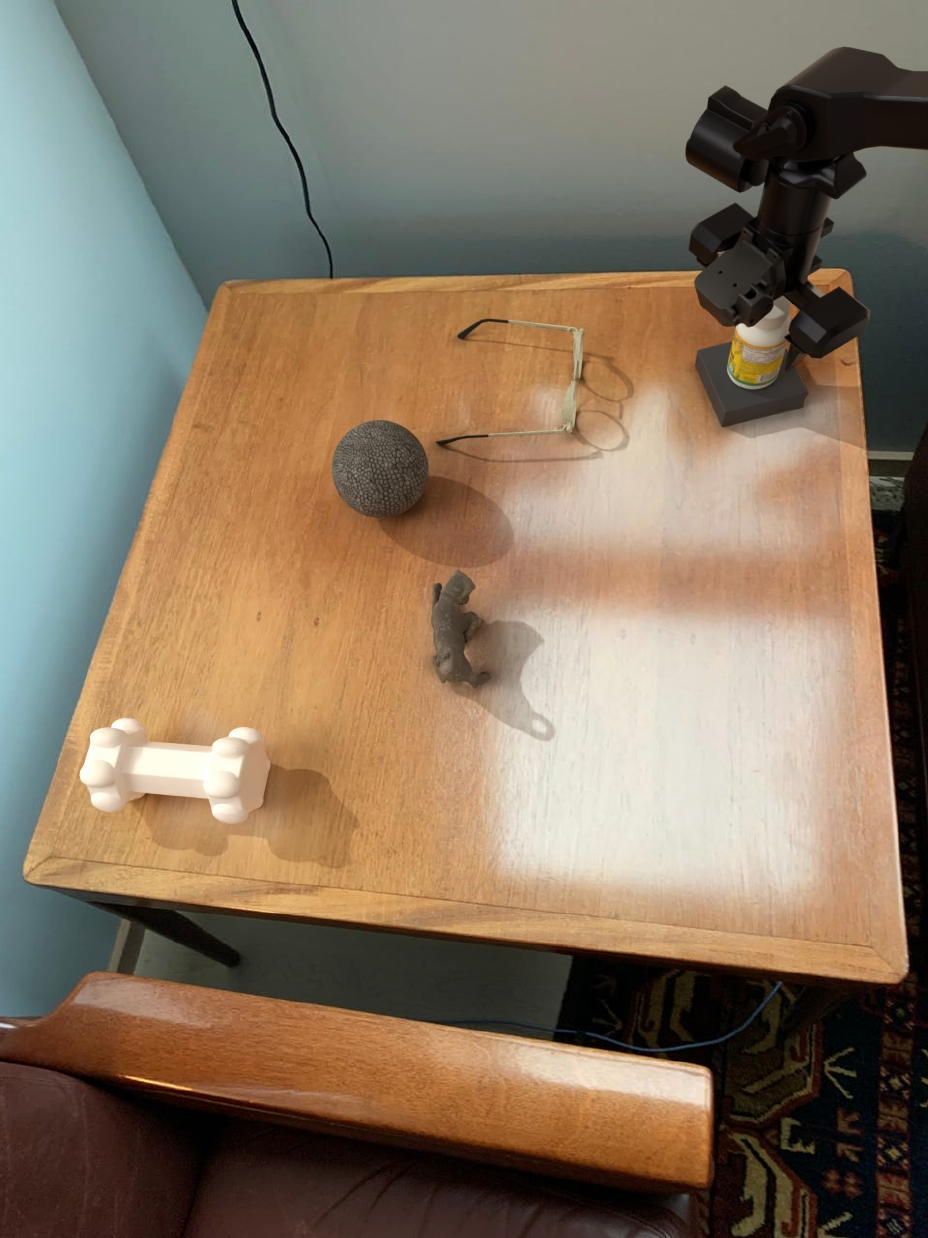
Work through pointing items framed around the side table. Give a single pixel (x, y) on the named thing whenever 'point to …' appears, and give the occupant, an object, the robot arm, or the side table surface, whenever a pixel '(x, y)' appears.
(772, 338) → the supplement bottle
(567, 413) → the eyeglasses
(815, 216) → the robot arm
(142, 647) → the side table surface
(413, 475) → the decorative ball
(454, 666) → the dog figurine
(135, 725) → the dog bone
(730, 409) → the block
